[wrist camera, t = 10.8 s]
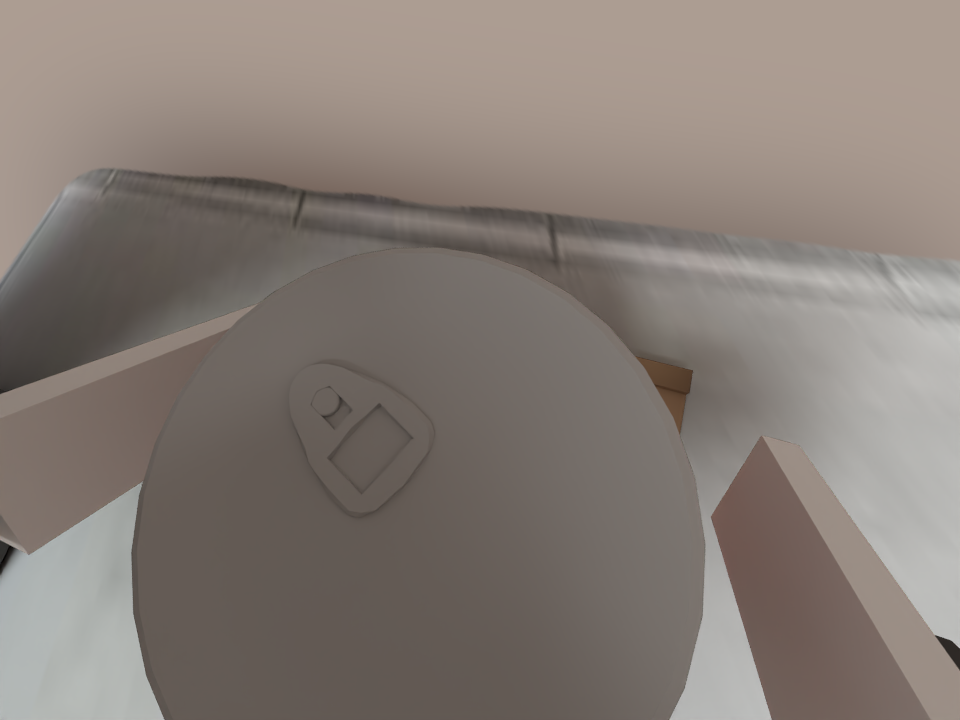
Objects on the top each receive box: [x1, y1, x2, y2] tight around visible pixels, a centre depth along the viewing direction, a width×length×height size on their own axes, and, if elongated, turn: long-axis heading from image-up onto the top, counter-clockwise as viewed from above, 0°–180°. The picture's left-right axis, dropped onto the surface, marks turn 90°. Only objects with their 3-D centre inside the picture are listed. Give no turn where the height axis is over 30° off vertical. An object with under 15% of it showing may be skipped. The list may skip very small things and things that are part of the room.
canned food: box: [132, 247, 705, 720], centre depth 10 cm, size 8×8×11 cm
